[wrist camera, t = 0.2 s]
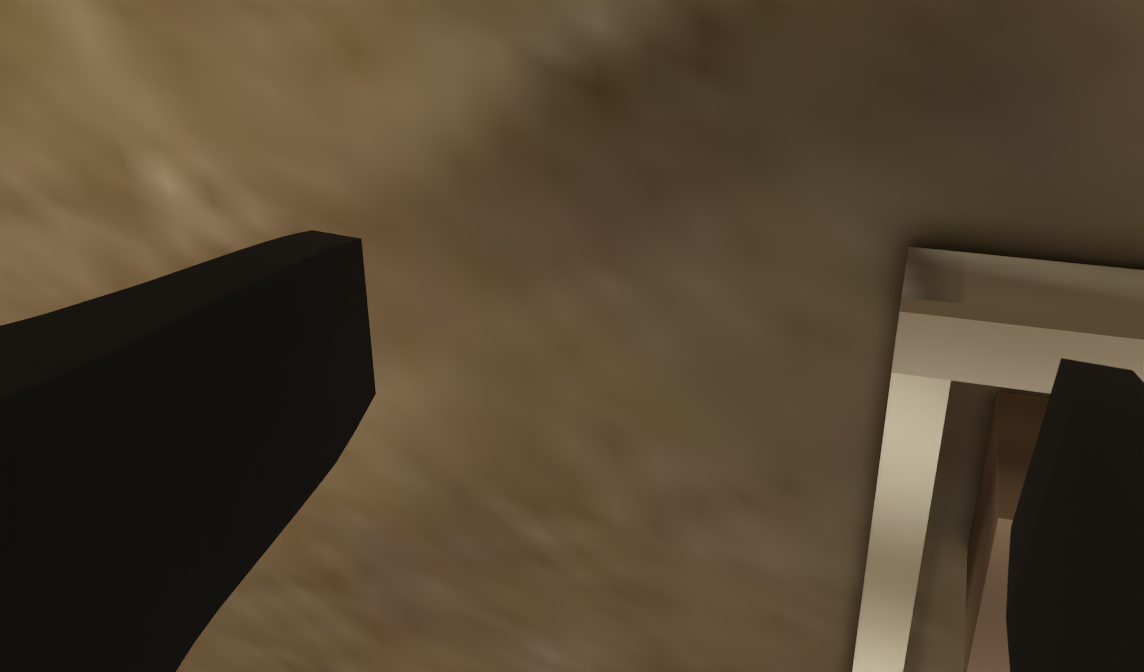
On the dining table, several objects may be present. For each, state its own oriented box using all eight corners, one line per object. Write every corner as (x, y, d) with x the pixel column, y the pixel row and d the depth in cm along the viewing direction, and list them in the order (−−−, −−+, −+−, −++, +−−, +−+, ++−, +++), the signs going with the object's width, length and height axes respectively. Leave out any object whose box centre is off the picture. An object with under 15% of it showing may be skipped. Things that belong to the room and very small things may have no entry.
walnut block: (1175, 580, 22) (1205, 736, 19) (967, 544, 23) (963, 685, 20) (1227, 419, 20) (1272, 563, 17) (997, 388, 21) (998, 517, 18)
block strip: (1188, 862, 25) (1217, 1037, 22) (838, 779, 28) (818, 926, 24) (1418, 297, 18) (1512, 437, 15) (908, 246, 20) (892, 358, 17)
